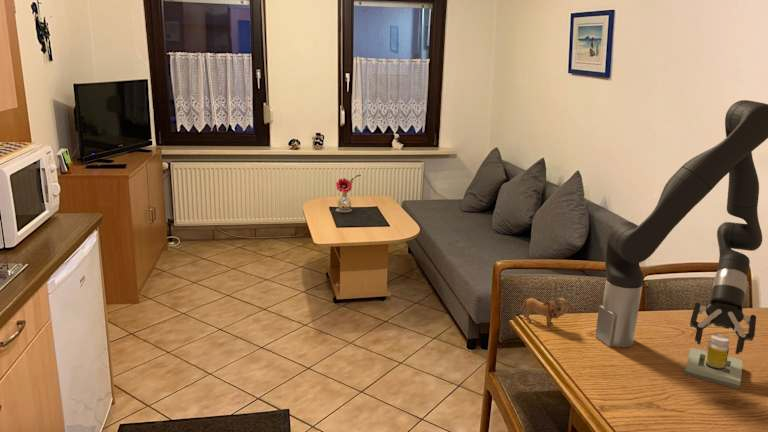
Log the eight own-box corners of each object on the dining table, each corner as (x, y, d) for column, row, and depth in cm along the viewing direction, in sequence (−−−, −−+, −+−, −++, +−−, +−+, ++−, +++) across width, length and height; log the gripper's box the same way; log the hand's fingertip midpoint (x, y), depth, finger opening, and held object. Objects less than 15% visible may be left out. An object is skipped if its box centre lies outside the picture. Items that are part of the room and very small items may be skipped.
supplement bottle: (727, 373, 153) (734, 343, 150) (706, 370, 154) (713, 340, 151) (721, 363, 157) (727, 334, 155) (701, 361, 158) (707, 331, 156)
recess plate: (739, 389, 148) (740, 381, 147) (684, 374, 153) (685, 366, 153) (740, 367, 158) (742, 360, 157) (689, 354, 163) (690, 347, 163)
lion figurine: (567, 325, 178) (570, 296, 176) (562, 332, 174) (566, 303, 171) (518, 313, 185) (520, 285, 183) (512, 319, 181) (515, 291, 178)
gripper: (699, 277, 159) (686, 335, 153) (762, 290, 152) (752, 350, 146) (697, 290, 165) (685, 345, 159) (758, 302, 158) (748, 361, 152)
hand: (717, 348), depth 152 cm, fingers open, 8 cm apart
